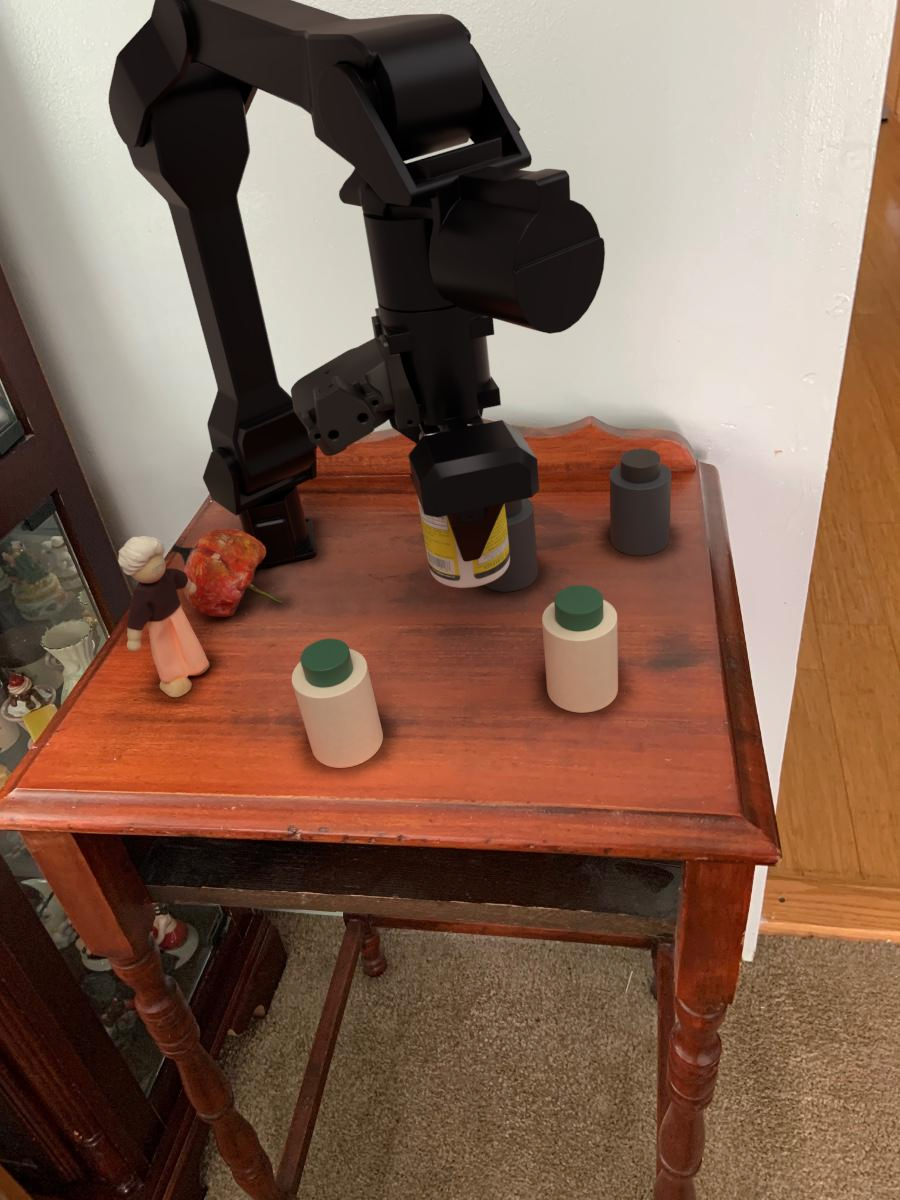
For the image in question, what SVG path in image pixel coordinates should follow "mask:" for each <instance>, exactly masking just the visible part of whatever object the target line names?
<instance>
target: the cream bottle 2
mask: <svg viewBox="0 0 900 1200" xmlns="http://www.w3.org/2000/svg"><path fill="white" fill-rule="evenodd" d="M541 623H542V624H541V625H542V638H543V639H542V640H543V653H544V665H545V679H546V680H545V681H546V692H547V695H548V697H549V699H550V700H551V702H552V703H553V704H554V705H556V706H557V707H558V708H560V709H562V710H565V711H567V712H571V713H577V714H580V713H581V714H582V713H583V714H585V713H593V712H597V711H600V710H602V709H604V708H606V707H608V706H609V705H610V704H611V703H612V702H614V700H615V699H616V697H617V695H618V692H619V657H618V656H619V655H618V654H619V653H618V651H619V648H618V647H619V646H618V641H619V639H618V636H619V635H618V613H617V611H616V609H615V607H614V606H613V605H612V604H611V603H610V602H609V601H608V600H606V599H604V596H603V594H602V593H601V592H600V591H599V590H598V589H597V588H595V587H592V586H589V585H585V584H584V585H583V584H576V585H569V586H567V587H564V588H563V589H561V590H560V591H558V592H557V593H556V595H555V596H554V601H553V602H551V603H550V604H549V605H547V607H545V609H544V611H543V613H542V615H541Z"/></svg>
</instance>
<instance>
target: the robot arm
mask: <svg viewBox="0 0 900 1200" xmlns="http://www.w3.org/2000/svg"><path fill="white" fill-rule="evenodd" d="M471 40H472V33H471V32H470V30H469V29H468V28H467V26H465V24H464V23H463V22H462V21H461V20H459V19H458V18H456V17H454V16H452V14H447V13H419V14H418V13H417V14H414V13H413V14H398V15H390V16H389V15H388V16H387V15H386V16H379V17H378V16H377V17H368V18H348V17H344V16H342V15H338V14H335V13H332V12H330V11H326V10H323V9H321V8H317V7H313V6H310V5H307V4H305V3H301V2H299V1H296V0H154V1H153V7H152V10H151V14H150V16H149V19H148V20H147V21H145V23H143V25H142V26H141V28H140V29H139V30H138V31H136V33H135V34H134V35H133V36H132V37H131V39H130V40H128V42H127V43H126V44H125V45H124V46H123V47H122V48H121V50H120V51H119V52H118V54H117V55H116V57H115V63H114V67H113V72H112V76H111V81H110V85H109V90H108V108H109V113H110V117H111V119H112V123H113V125H114V127H115V129H116V132H117V134H118V136H119V137H120V139H121V140H122V142H123V143H124V144H125V145H126V148H127V150H128V153H129V157H130V159H131V162H132V165H133V167H134V169H136V171H137V172H138V173H139V174H140V175H141V176H142V177H143V178H144V179H145V180H146V181H147V182H148V183H149V184H150V186H151V187H153V189H154V190H155V191H156V192H157V193H158V194H159V195H160V196H161V197H162V198H163V199H164V200H165V201H166V203H167V205H168V209H169V211H170V212H169V213H170V215H171V219H172V222H173V226H174V230H175V234H176V237H177V241H178V245H179V248H180V252H181V256H182V259H183V264H184V268H185V272H186V274H187V279H188V283H189V287H190V290H191V294H192V297H193V301H194V305H195V308H196V312H197V317H198V320H199V324H200V326H201V331H202V334H203V338H204V342H205V346H206V349H207V353H208V356H209V360H210V364H211V367H212V368H211V369H212V373H213V375H214V379H215V383H216V388H217V392H216V395H215V398H214V401H213V404H212V407H211V410H210V413H209V416H208V419H207V424H206V425H207V431H208V435H209V441H210V445H211V449H212V451H211V452H210V455H209V458H208V461H207V463H206V466H205V468H204V473H203V475H202V481H203V482H204V484H205V487H206V489H207V491H208V493H209V495H210V498H211V499H212V500H213V501H214V502H215V503H217V504H218V505H220V506H221V507H223V508H224V509H225V510H227V511H228V512H230V513H232V514H233V515H234V516H238V518H239V521H240V524H241V528H242V531H244V532H245V533H247V534H249V535H251V536H253V537H255V538H256V539H257V540H258V541H260V542H261V543H262V544H263V545H264V547H265V548H266V555H265V557H264V559H263V560H262V562H261V563H260V564H259V565H258V566H257V568H256V569H255V570H257V569H261V568H266V567H271V566H276V565H281V564H285V563H291V562H295V561H301V560H305V559H309V558H313V557H315V556H317V547H316V545H317V544H316V540H315V539H316V538H315V532H314V525H313V520H312V518H311V517H306V516H305V513H304V508H303V505H302V501H301V496H300V492H299V489H298V488H299V487H298V486H299V485H302V484H305V483H306V482H309V481H313V480H314V479H317V478H318V477H317V475H318V474H317V473H318V472H317V471H318V470H317V467H318V466H317V465H318V464H317V461H318V460H317V459H318V458H317V454H318V453H317V452H318V451H317V449H319V450H320V451H321V453H322V455H324V456H325V457H331V456H332V457H333V456H336V455H338V454H339V453H341V452H344V451H346V450H347V448H348V447H349V446H350V445H352V444H353V445H354V443H356V442H358V441H360V440H362V439H363V438H365V437H366V436H368V435H370V434H372V433H373V432H374V431H375V429H377V428H379V427H381V426H382V425H384V424H385V423H387V422H389V424H390V427H391V428H392V429H393V430H394V431H396V432H398V433H399V434H401V435H403V437H405V438H407V439H408V440H410V441H411V442H413V443H414V444H415V445H414V447H413V448H412V450H411V451H409V453H408V461H409V467H410V474H409V476H410V480H411V482H412V485H413V487H414V490H415V493H416V497H417V496H418V499H419V501H420V504H421V506H422V509H423V512H424V514H425V515H428V516H433V517H437V518H438V517H442V516H447V518H448V521H449V524H450V527H451V529H452V532H453V535H454V538H455V540H456V543H457V546H458V549H459V551H460V554H461V557H462V559H463V561H465V562H468V561H472V560H477V559H479V558H480V557H481V555H482V553H483V551H484V548H485V546H486V544H487V541H488V539H489V537H490V535H491V532H492V530H493V528H494V525H495V523H496V521H497V518H498V516H499V514H500V512H501V510H502V508H503V506H504V504H505V503H508V502H512V501H517V500H522V499H526V498H528V499H531V498H533V497H534V496H535V495H536V494H537V493H538V492H540V479H539V464H538V458H537V456H536V454H535V453H534V452H533V450H532V449H531V447H530V446H529V444H528V442H527V441H526V439H525V438H524V436H523V435H522V433H521V432H520V431H519V430H518V429H516V428H515V427H514V426H513V425H510V424H509V423H507V422H506V421H505V420H503V419H500V420H495V421H491V422H485V421H484V419H483V414H484V409H489V408H495V407H498V406H502V402H501V389H500V387H499V385H498V384H497V383H496V381H495V380H494V378H493V377H492V375H491V367H490V359H489V348H488V338H487V337H489V336H494V335H495V327H494V320H497V321H501V322H504V323H508V324H512V325H516V326H518V327H522V328H527V329H530V330H533V331H536V332H541V333H544V334H551V335H552V334H557V333H558V334H559V333H562V332H564V331H567V330H569V329H570V328H572V327H573V326H574V325H575V324H577V323H578V322H580V320H581V319H582V318H583V316H584V315H586V313H587V312H588V310H589V309H590V307H591V305H592V304H593V301H594V300H595V298H596V295H597V293H598V290H599V288H600V285H601V282H602V277H603V274H604V270H605V259H606V257H605V256H606V247H605V240H604V237H601V234H600V231H599V227H598V224H597V222H596V220H595V218H594V216H593V214H592V213H591V211H589V210H588V209H587V208H586V206H585V205H584V204H582V203H580V202H577V201H575V200H573V199H571V184H570V183H571V182H570V181H571V180H570V174H569V173H568V171H567V170H565V169H558V168H557V169H556V168H544V169H540V170H533V171H532V170H525V169H526V168H529V167H530V166H531V165H532V154H531V152H530V150H529V148H528V146H527V145H526V143H525V141H524V138H523V137H522V134H521V133H520V131H521V127H520V126H519V123H517V121H516V120H515V119H514V117H513V116H512V115H511V113H510V112H509V109H508V108H507V106H506V103H505V102H504V100H503V99H502V96H501V94H500V92H499V90H498V89H497V87H496V85H495V83H494V81H493V79H492V77H491V75H490V73H489V71H488V69H487V67H486V65H485V63H484V61H483V59H482V57H481V55H480V54H479V52H478V50H477V49H476V48H475V46H474V44H472V43H471ZM258 90H260V91H262V92H265V93H267V94H269V95H272V96H274V97H276V98H278V99H281V100H283V101H285V102H288V103H290V104H292V105H294V106H296V107H299V108H301V109H302V110H304V111H305V112H306V113H308V114H309V115H310V117H311V121H312V127H313V132H314V133H313V134H314V137H316V138H317V139H318V140H319V141H320V142H321V143H323V144H324V145H325V146H326V147H328V148H329V150H332V151H333V152H334V153H335V154H337V155H338V156H339V157H340V158H342V159H343V160H344V161H346V162H347V163H348V164H350V165H351V166H352V167H354V169H353V170H352V172H351V174H350V175H349V176H348V177H347V178H346V179H345V180H344V182H343V184H342V185H341V188H340V189H339V191H338V197H339V199H340V201H341V203H343V204H344V205H345V204H346V205H351V206H356V207H361V211H362V217H363V223H364V229H365V236H366V241H367V242H366V243H367V247H368V253H369V259H370V265H371V272H372V277H373V283H374V290H375V297H376V301H377V306H378V307H377V308H374V311H375V315H374V316H370V317H371V324H372V330H373V338H372V339H369V340H368V341H366V342H364V343H362V344H360V345H359V346H356V347H352V348H350V349H348V350H346V351H344V352H342V353H341V354H339V355H337V356H336V357H334V358H332V359H331V360H329V361H327V362H325V363H324V364H322V365H321V366H319V367H317V368H315V369H313V370H312V371H310V372H309V373H307V374H305V375H304V376H302V377H300V378H299V379H298V380H296V382H295V383H293V385H292V386H291V388H290V394H289V392H287V391H286V390H285V389H284V388H283V387H282V386H281V385H280V381H279V379H278V376H277V375H278V374H277V371H276V366H275V361H274V358H273V351H272V348H271V344H270V339H269V335H268V331H267V326H266V325H267V324H266V322H265V317H264V312H263V309H262V303H261V299H260V294H259V289H258V286H257V285H258V284H257V281H256V276H255V272H254V266H253V262H252V259H251V253H250V250H249V249H250V248H249V245H248V241H247V236H246V232H245V227H244V222H243V217H242V213H241V207H240V204H239V198H238V194H239V190H240V187H241V184H242V181H243V178H244V174H245V170H246V169H247V168H246V167H247V164H248V160H249V158H250V155H251V146H250V137H249V130H248V123H247V114H248V112H249V110H250V107H251V106H252V103H253V101H254V100H255V96H256V94H257V92H258ZM469 141H472V143H471V144H467V145H464V144H466V143H468V142H469ZM460 145H464V146H460ZM457 146H460V147H457ZM453 147H457V148H453ZM450 148H453V149H450ZM448 149H450V150H448ZM444 150H448V151H444ZM440 151H443V152H440ZM436 152H439V153H437V154H433V153H436ZM430 154H433V155H430ZM427 155H430V156H427ZM424 156H426V157H424ZM420 157H422V158H420ZM416 158H420V159H416ZM413 159H416V160H414V161H410V160H413ZM406 161H409V162H408V163H407V162H406ZM439 427H440V428H439ZM440 429H441V430H440ZM421 432H422V434H423V436H422V438H421V439H420V440H419V436H420V433H421ZM418 499H417V500H418Z"/></svg>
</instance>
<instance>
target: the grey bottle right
mask: <svg viewBox="0 0 900 1200" xmlns="http://www.w3.org/2000/svg"><path fill="white" fill-rule="evenodd" d="M661 459H662V458H661V455H660V454H659V453H658V452H657V451H655V450H653V449H649V448H635V449H634V448H633V449H631V450H627V451H626V452H624V453H623V454H621V456H620V460H619V461H620V462H619V464H617V465H616V466H614V467H612V469H611V471H610V472H609V523H610V524H609V525H610V526H609V527H610V528H609V529H610V530H609V531H610V534H609V535H610V544H611V546H612V547H613V548H614V549H615V550H617V551H618V552H620V553H622V554H625V555H629V556H635V557H636V556H637V557H638V556H639V557H641V556H642V557H644V556H650V555H654V554H657V553H660V552H661V551H663V550H664V549H665V548H667V547H668V545H669V543H670V537H671V535H670V531H671V505H672V504H671V503H672V502H671V501H672V500H671V498H672V471H671V469H670V468H669V467H668V466H667V465H666V464H664V463H662V462H661Z"/></svg>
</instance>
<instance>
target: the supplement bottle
mask: <svg viewBox="0 0 900 1200" xmlns="http://www.w3.org/2000/svg"><path fill="white" fill-rule="evenodd" d="M439 428H440V427H439ZM440 430H441V429H440ZM422 436H423V434H422V432H421V433H420V436H419V440H420V439H421V438H422ZM416 498H417V503H418V511H419V516H420V523H421V528H422V534H423V541H424V546H425V551H426V558H427V564H428V567H429V568H428V569H429V571H430V573H431V575H432V577H433V578H434V579H435V580H436V582H439V583H440V584H442V585H444V586H447V587H452V588H457V589H458V588H459V589H465V588H466V589H467V588H477V587H480V586H484V584H487V583H490V582H492V581H494V580H496V579H498V578H499V577H500V576H501V575H502V574H503V573H504V572H505V571H506V570H507V568H508V566H509V563H510V551H509V541H508V530H507V521H506V512H505V504H504V506H503V508H502V510H501V512H500V514H499V516H498V518H497V521H496V523H495V525H494V528H493V530H492V532H491V535H490V537H489V539H488V541H487V544H486V546H485V548H484V551H483V553H482V555H481V557H480V558H479V559H477V560H472V561H468V562H465V561H463V559H462V557H461V554H460V551H459V549H458V546H457V543H456V540H455V538H454V535H453V532H452V529H451V527H450V524H449V521H448V518H447V516H442V517H438V518H437V517H433V516H428V515H425V514H424V512H423V509H422V506H421V504H420V501H419V499H418V496H417V495H416Z"/></svg>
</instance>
